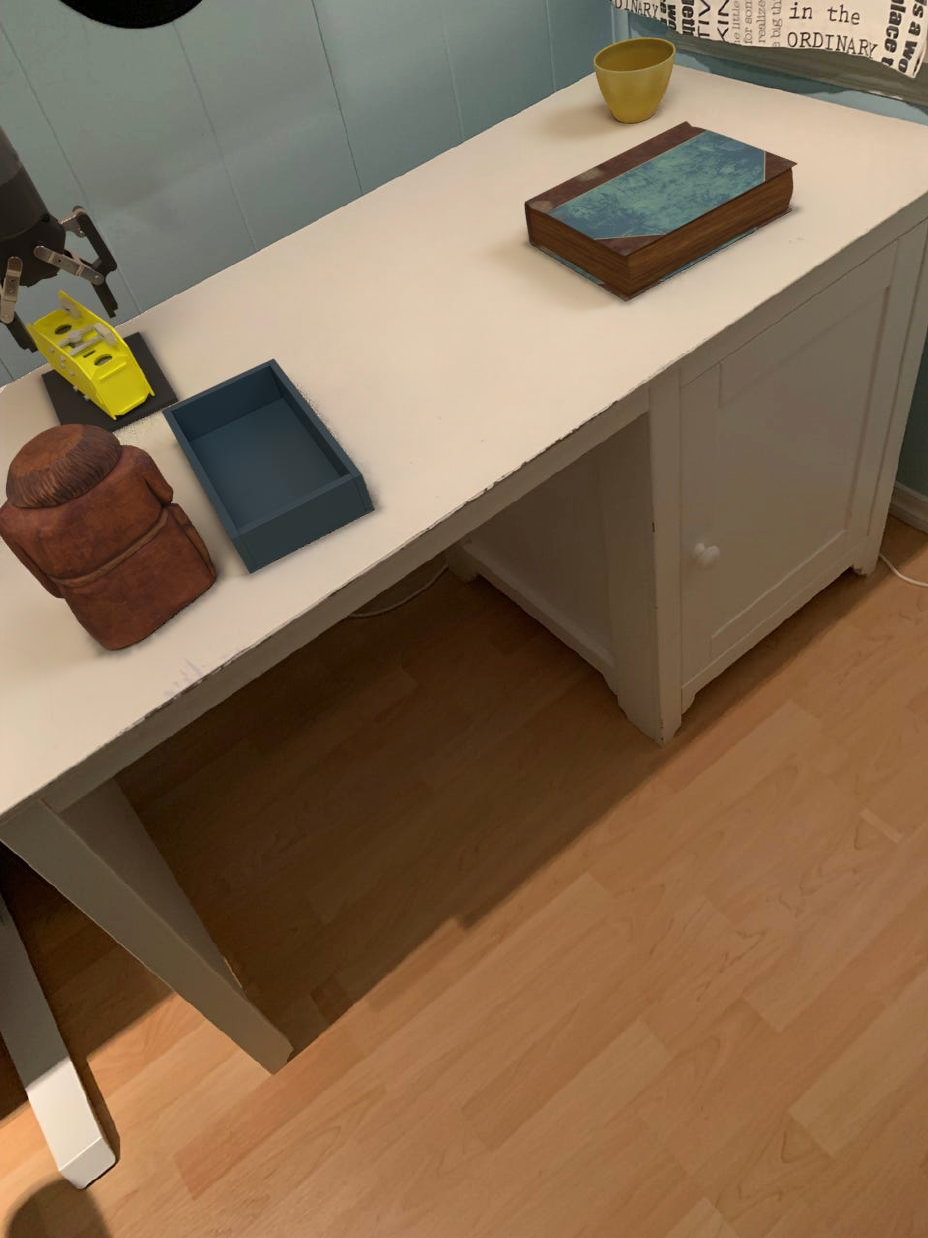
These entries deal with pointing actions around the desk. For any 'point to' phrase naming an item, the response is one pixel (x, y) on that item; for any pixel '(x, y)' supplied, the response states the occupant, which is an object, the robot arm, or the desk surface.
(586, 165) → the desk surface
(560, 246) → the book
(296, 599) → the desk surface
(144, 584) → the wooden figurine
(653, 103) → the flower pot
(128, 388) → the yellow toy chassis
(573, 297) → the desk surface
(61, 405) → the mat
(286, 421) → the bin
